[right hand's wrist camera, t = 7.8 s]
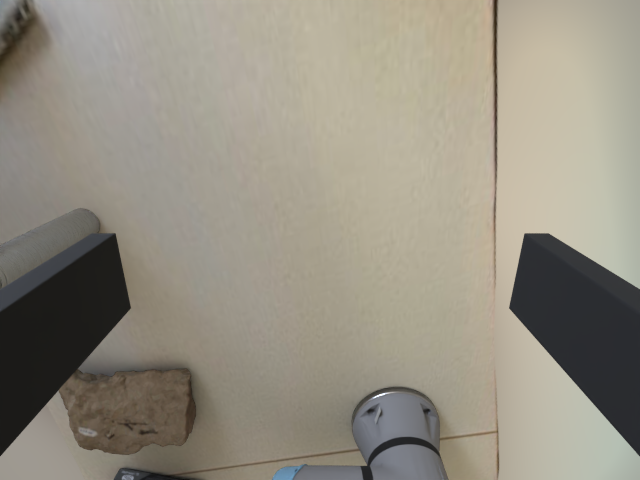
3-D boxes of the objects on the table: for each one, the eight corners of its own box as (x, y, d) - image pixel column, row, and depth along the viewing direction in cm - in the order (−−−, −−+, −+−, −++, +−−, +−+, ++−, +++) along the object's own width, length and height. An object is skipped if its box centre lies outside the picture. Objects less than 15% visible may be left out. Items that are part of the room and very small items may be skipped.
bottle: (74, 202, 54) (-88, 274, 32) (104, 218, 55) (-34, 298, 33) (64, 227, 55) (-98, 312, 34) (93, 242, 56) (-46, 335, 35)
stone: (71, 443, 66) (53, 469, 60) (64, 362, 64) (45, 380, 58) (197, 432, 69) (192, 455, 63) (195, 355, 67) (190, 371, 61)
